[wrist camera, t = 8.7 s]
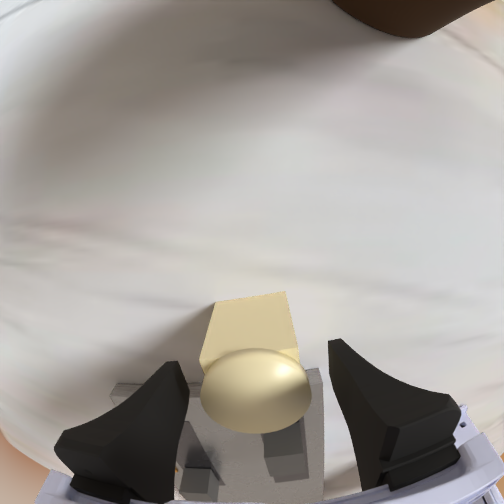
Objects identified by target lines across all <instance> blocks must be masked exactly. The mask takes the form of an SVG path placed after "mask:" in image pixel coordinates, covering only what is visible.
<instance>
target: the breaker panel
mask: <svg viewBox="0 0 504 504" xmlns="http://www.w3.org/2000/svg"><path fill="white" fill-rule="evenodd" d="M305 371H306V373H307V376H308V379H309V383H310V388H311V393H312V399H311V404H310V406H309V408H308V410H307V412H306V413H305V414H304V415H303V417H301V418H300V419H299V420H298V421H297V422H295V423H298V422H299V424H300V431H301V438H302V444H303V451H304V460H305V470H306V472H305V473H299V474H292V475H284V476H275V477H270V475H269V472H268V469H267V466H266V463H265V460H264V433H261V434H250V433H242V432H237V431H234V430H231V429H228V428H225V427H223V426H221V425H220V424H218V423H216V422H215V421H214V420H213V419H211V418H210V417H209V416H208V415H207V413H206V412H205V411H204V409H203V407H202V404H201V400H200V392H201V388H202V383H190V384H187V385H188V387H189V389H190V396H189V405H188V410H187V414H186V418H185V422H184V425H183V429H182V433H181V436H180V440H179V444H178V449H177V458H176V467H175V481H174V485H175V486H176V487H177V489H178V490H179V489H180V484H181V480H182V475H183V470H184V468H193V469H211V470H212V472H213V473H214V475H215V477H216V478H217V480H218V481H219V491H218V501H217V502H260V503H265V504H307V503H313V502H319V501H323V492H324V406H323V382H322V379H321V375H320V372H319V368H316V369H310V370H305ZM142 385H143V384H116V386H115V387H114V389H113V391H112V393H111V394H110V398H111V399H112V401H113V403H114V404H115V406H116V407H117V406H118V405H119V404H121V403H122V402H124V401H125V400H126V399H127V398H129V397H130V396H131V395H132V394H133V393H134V392H136V391H137V390H138V389H139V388H140V387H141V386H142Z"/></svg>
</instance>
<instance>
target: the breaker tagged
mask: <svg viewBox="0 0 504 504" xmlns="http://www.w3.org/2000/svg"><path fill="white" fill-rule="evenodd" d="M218 491H219V481H218V480H217V478H216V477H215V475H214V473H213V472H212V470H211V469H193V468H184V470H183V475H182V480H181V484H180V489H179V493H180V494H181V495H182V496H183V497H184V498H185V499H186V500H187V501H200V502H217V501H218Z"/></svg>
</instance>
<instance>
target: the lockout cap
mask: <svg viewBox="0 0 504 504" xmlns="http://www.w3.org/2000/svg"><path fill="white" fill-rule="evenodd" d="M199 361H200V364H201V367H202V370H203V373H204V379H203V383H202V388H201V392H200V400H201V404H202V407H203V409H204V411H205V412H206V413H207V415H208V416H209V417H210V418H211V419H213V420H214V421H215V422H216V423H218V424H220V425H221V426H223V427H225V428H228V429H231V430H234V431H237V432H242V433H250V434H261V433H270V432H274V431H278V430H281V429H284V428H286V427H288V426H290V425H292V424H294V423H295V422H297V421H298V420H299V419H300V418H301V417H303V415H304V414H305V413H306V412H307V410H308V408H309V406H310V404H311V399H312V393H311V388H310V383H309V379H308V376H307V373H306V371H305V369H304V368H303V367H302V365H301V364H300V360H299V352H298V345H297V341H296V336H295V332H294V327H293V323H292V318H291V314H290V310H289V305H288V301H287V297H286V292H285V291H283V292H277V293H271V294H265V295H259V296H253V297H246V298H239V299H233V300H226V301H219V302H216V303H215V306H214V309H213V313H212V316H211V320H210V323H209V326H208V330H207V333H206V337H205V340H204V344H203V347H202V351H201V354H200V358H199Z"/></svg>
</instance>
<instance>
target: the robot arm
mask: <svg viewBox="0 0 504 504" xmlns="http://www.w3.org/2000/svg"><path fill="white" fill-rule="evenodd" d="M328 354H329V374H330V378H331V382H332V386H333V390H334V393H335V395H336V398H337V400H338V403H339V405H340V408H341V410H342V413H343V415H344V418H345V420H346V423H347V426H348V429H349V432H350V435H351V439H352V443H353V447H354V452H355V456H356V461H357V466H358V471H359V476H360V481H361V487H362V492H359V493H355V494H351V495H347V496H343V497H339V498H334V499H329V500H324V501H319V502H313V503H307V504H504V499H503V498H502V496H501V494H500V492H499V490H498V488H497V487H496V485H495V484H496V483H497V482H498V481H499V480H500V478H501V477H502V476H503V475H504V463H503V461H502V460H501V458H500V456H499V455H498V453H497V451H496V450H495V448H494V447H493V445H492V444H491V442H490V441H489V439H488V438H487V436H486V435H485V433H484V432H482V433H480V432H479V431H478V429H477V428H476V426H475V425H474V423H473V422H472V420H471V419H470V418H469V416H468V415H467V413H466V411H467V408H468V407H467V406H466V405H464V406H462V407H460V408H459V407H458V405H457V404H456V402H455V401H454V400H453V398H452V397H451V396H450V395H449V394H443V393H437V392H432V391H428V390H424V389H421V388H417V387H414V386H411V385H409V384H406V383H404V382H401V381H399V380H397V379H395V378H393V377H391V376H389V375H387V374H385V373H384V372H382V371H381V370H379V369H378V368H376V367H375V366H373V365H372V364H370V363H369V362H368V361H366V360H365V359H364V358H363V357H361V356H360V355H359V354H358V353H356V352H355V351H354V350H353V349H352V348H351V347H350V346H349V345H348V344H346V343H345V342H344V341H343V340H342V339H341V338H340V339H335V340H331V341H328ZM189 396H190V389H189V387H188V385H187V382H186V380H185V377H184V375H183V373H182V370H181V368H180V365H179V363H178V361H170V362H166V363H165V364H164V365H162V366H161V367H160V368H159V369H158V370H157V371H156V372H155V373H154V374H153V375H152V376H151V377H150V378H149V379H148V380H147V381H146V382H145V383H144V384H143V385H142V386H141V387H140V388H139V389H138V390H137V391H136V392H134V393H133V394H132V395H131V396H130V397H129V398H127V399H126V400H125V401H124V402H122V403H121V404H119V405H118V406H117V407H115V408H114V409H112V410H110V411H109V412H107V413H105V414H103V415H102V416H100V417H98V418H96V419H94V420H92V421H90V422H87V423H85V424H82V425H80V426H77V427H74V428H71V429H67V430H64V431H63V433H62V434H61V436H60V438H59V440H58V441H57V443H56V445H55V446H54V451H55V453H56V455H57V456H58V457H59V459H60V460H61V461H62V462H63V463H64V464H65V465H66V466H67V467H68V468H69V469H70V470H71V471H72V472H73V473H74V476H73V478H71V477H70V476H68V475H66V474H63V473H61V472H58V471H55V470H51V471H50V473H49V474H48V476H47V478H46V480H45V482H44V484H43V486H42V488H41V490H40V492H39V494H38V496H37V498H36V500H35V504H265V503H260V502H200V501H186V500H174V481H175V467H176V458H177V449H178V444H179V440H180V436H181V433H182V429H183V425H184V422H185V418H186V414H187V410H188V405H189Z"/></svg>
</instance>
